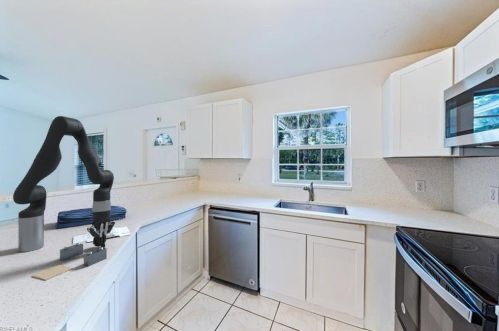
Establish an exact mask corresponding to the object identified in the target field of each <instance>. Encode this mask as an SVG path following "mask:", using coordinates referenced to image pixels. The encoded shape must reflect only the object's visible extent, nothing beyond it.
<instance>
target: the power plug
mask: <svg viewBox="0 0 499 331" xmlns="http://www.w3.org/2000/svg"><path fill="white" fill-rule="evenodd" d="M92 245H94V246H95V247H100V248H101V247H103V248H106V242H105V243H102V244H101V245H100V244H98V243H97V237H94V238H93V241H92Z"/></svg>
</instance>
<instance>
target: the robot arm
mask: <svg viewBox="0 0 499 331" xmlns="http://www.w3.org/2000/svg"><path fill="white" fill-rule="evenodd" d="M65 136H68V137H73V138H74V140H75V141H76V143H77V145H78V147H77V148H78V149H77V156H78V157H79V159H80V161H81V162H82V164H83V166H84V167H85V170H86V174H87V178H88V180H89V181H90V182H91V183H92V184H94V185H99V186H98V188H96V189H95V190H93V192H92V193H93V194H92V195H93V196H92V207H91V208H92V219H93V223H92V224H91V226H89V227H87V228H86V230H87V233H88V232H89V233H90V234H91V235H92V236H93V237H97V243H98V244H100V245H101V244H102V243H105V244H106V242H107V238H106V235H107V234H108V233H110V232H111V230H112V228H114V226H115V224H116V222H115V221H111V219H110V217H111V206H112V202H111V191H112V187H113V186H114V185H113V184H114V181H115V180H114V179H115V177H114V173H113V172H112V171H111V170H110V169H100V167H102V165H103V164H102V160H101V159H100V157H99V156H98V154H97V153H96V151H95V150H94V148H93V145H92V144H91V142H90V139H89V136H88V134H87V132H86V130H85V126H84V125H83V123H82V121H80V120H79V119H76V118H74V117H68V116H63V115H58V116H56V117H54V119H53V120H52V121H51V123H50V125H49V127H48V131H47V134H46V135H45V139H44V141H43V143H42V145H41V147H40V149H39V150H38V152H37V153H36V155H35V157H34V159H33V160H32V163H31V165H30V167H29V168H28V171H27V172H26V174H25V176H24V177H23V178H22V180H21V181H20V183H19V184H18V185H17V187H16V188H15V189H14V192H13V195H12V200H13V202H14V203H15V204H17V205H28V206H27V207H26V208H24V209H22V210H20V211H19V212H18V216H17V217H18V220H17V221H18V227H17V228H18V230H17V232H18V233H17V234H18V235H17V236H18V240H17V243H18V250H17V251H18V252H19V253H24V252H25V253H26V252H31V251H32V252H33V251H35V250H39V249H42V248H43V247H44V245H45V210H46V208H47V190H46V188H45V187H44V186H43V185H41V184H39V183H41V181H43V180H44V179H45V178H46V177H48V176H50V175H51V174H53V173H54V172H55V171H56V170H57V168H58V167H59V165H60V163H61V161H62V159H63V158H62V157H63V155H62V152H61V148H60V145H61V142H62V139H63V138H64V137H65ZM95 231H96V232H95Z"/></svg>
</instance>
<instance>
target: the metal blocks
mask: <svg viewBox="0 0 499 331" xmlns="http://www.w3.org/2000/svg"><path fill="white" fill-rule="evenodd" d="M107 249H108V248H106V247H105V248H103V247H101V246H100V247H98V249H95V250H92V251H88V252H86V253H84V243H81V242H80V243H76V244H73V245H69V246H64V247H63V248H60V250H59V261H61V262H66V261H68V260H72V259H74V258H78V257H79V256H82V255H83V266H84V267H90V266H94V265H95V264H98V263H100V262H103V261H105V260H107V259H108V258H107V256H108V255H107V252H108V251H107Z"/></svg>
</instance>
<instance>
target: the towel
mask: <svg viewBox="0 0 499 331" xmlns="http://www.w3.org/2000/svg"><path fill="white" fill-rule="evenodd" d="M127 213H128V212H127V209H126V208H125V207H124V206H120V205H111V217H110V219H111V221H112V222H115V221H120V220H124V219H123V218H125V219H126V218H127V217H126V216H127V215H126V214H127ZM56 218H57V219H56V225H55V229H58V230H59V229H66V228H72V227H73V228H74V227H80V226H86V225H92V223H93V219H92V207H85V208H77V209H70V210H63V211H59V212H58V213H57V216H56ZM119 219H120V220H119ZM114 220H115V221H114Z"/></svg>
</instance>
